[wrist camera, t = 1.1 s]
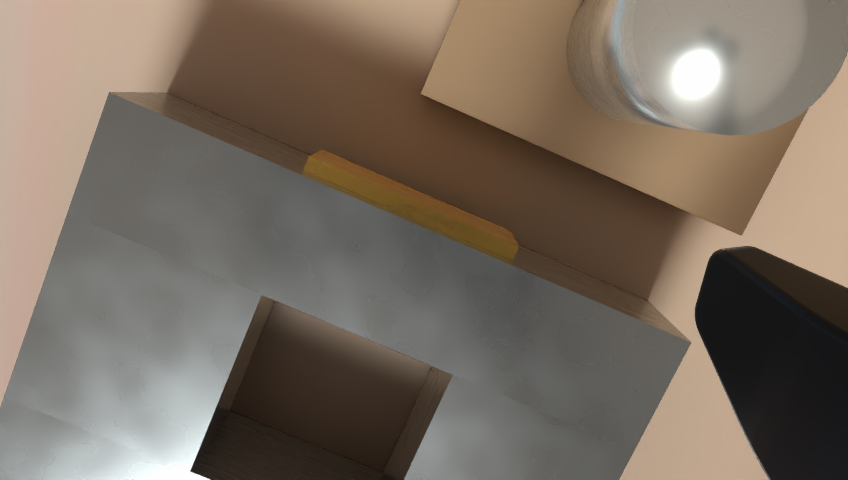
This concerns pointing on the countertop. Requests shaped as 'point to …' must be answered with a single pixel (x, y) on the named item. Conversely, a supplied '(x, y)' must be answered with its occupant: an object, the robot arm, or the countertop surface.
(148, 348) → the rack plate
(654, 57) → the steel peg
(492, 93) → the tab
